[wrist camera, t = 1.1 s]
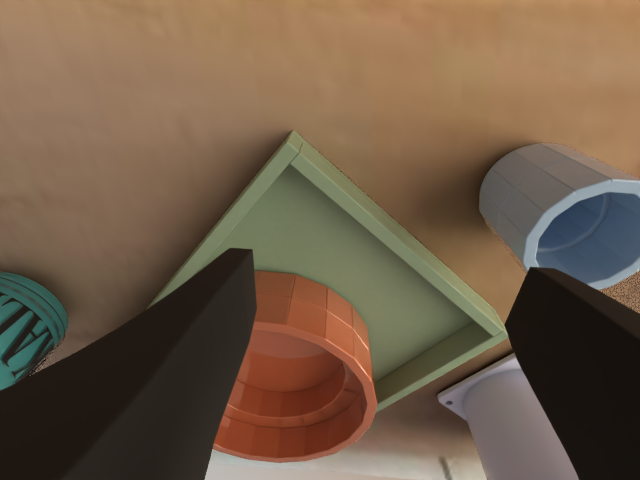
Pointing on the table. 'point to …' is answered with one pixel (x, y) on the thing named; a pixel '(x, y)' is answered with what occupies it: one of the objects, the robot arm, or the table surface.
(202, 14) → the table surface
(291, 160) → the tray
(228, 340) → the robot arm
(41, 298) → the beverage bottle
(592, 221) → the pale blue cup
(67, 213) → the table surface
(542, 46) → the table surface
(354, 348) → the big bowl
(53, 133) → the table surface
